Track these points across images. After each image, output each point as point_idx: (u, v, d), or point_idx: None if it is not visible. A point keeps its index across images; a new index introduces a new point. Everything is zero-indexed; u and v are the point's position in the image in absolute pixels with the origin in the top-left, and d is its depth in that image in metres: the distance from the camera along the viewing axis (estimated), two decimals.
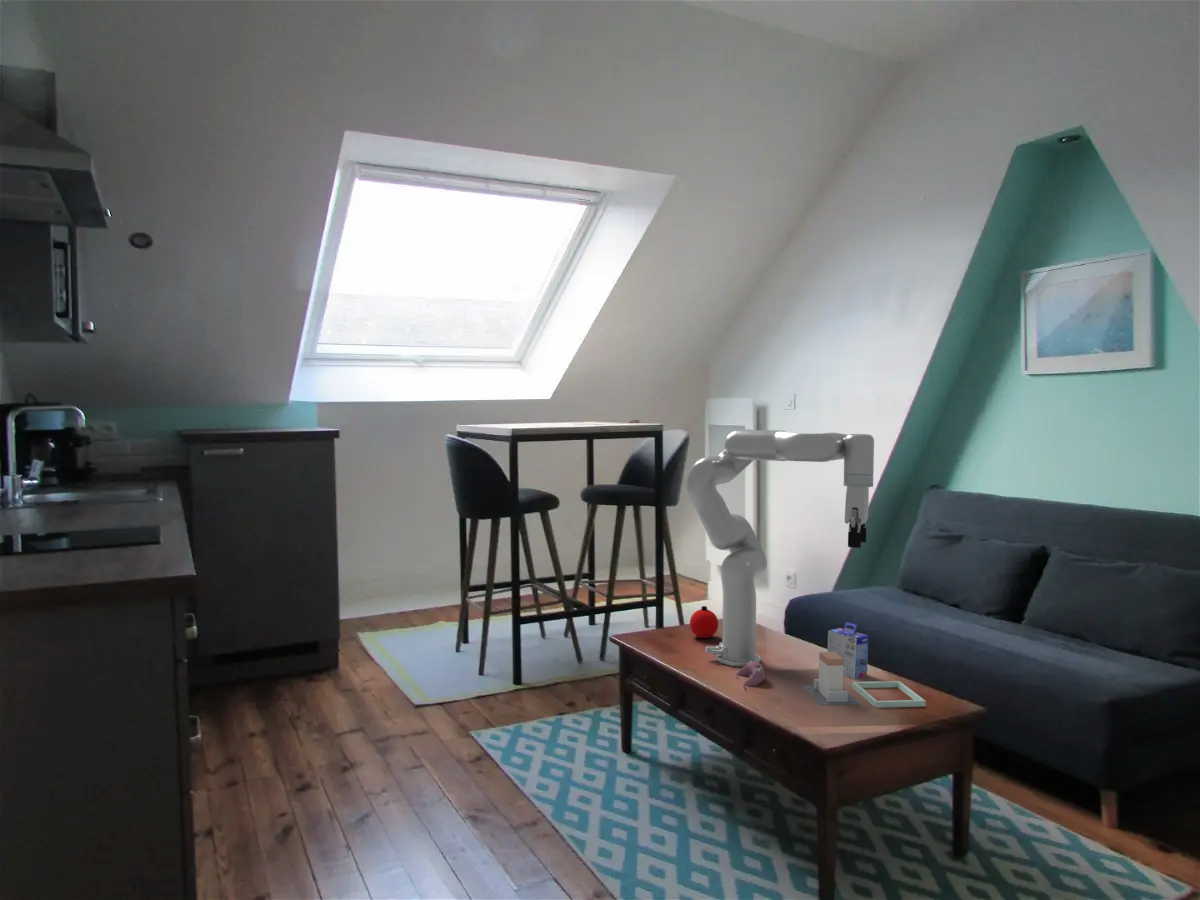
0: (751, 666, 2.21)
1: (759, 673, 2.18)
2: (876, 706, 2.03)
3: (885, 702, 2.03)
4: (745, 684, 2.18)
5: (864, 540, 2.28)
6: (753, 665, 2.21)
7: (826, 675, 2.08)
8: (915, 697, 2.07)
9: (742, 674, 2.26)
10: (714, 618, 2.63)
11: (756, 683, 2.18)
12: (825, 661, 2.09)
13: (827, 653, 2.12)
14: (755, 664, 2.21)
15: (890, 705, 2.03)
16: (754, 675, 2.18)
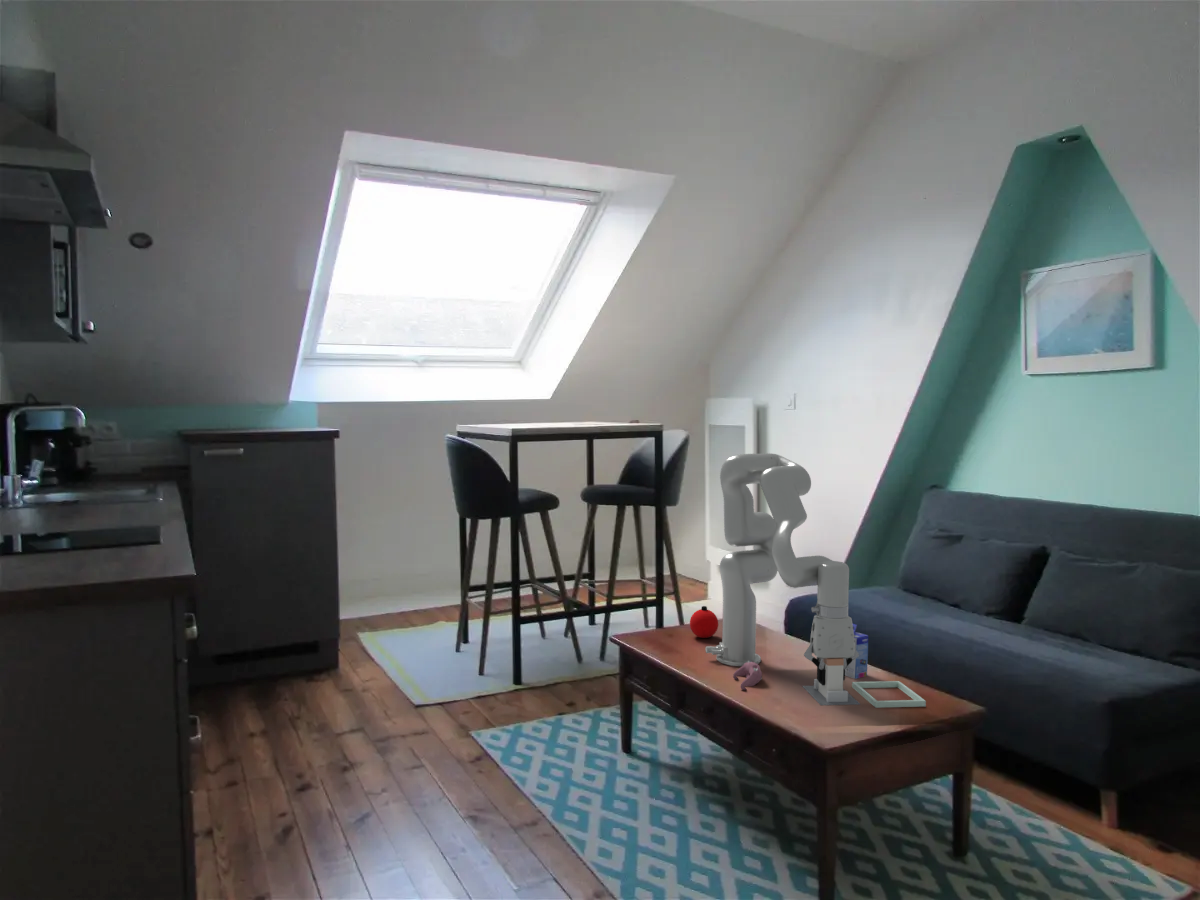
0: (748, 666, 2.21)
1: (756, 673, 2.18)
2: (876, 706, 2.03)
3: (885, 702, 2.03)
4: (742, 684, 2.18)
5: None
6: (750, 665, 2.21)
7: (826, 675, 2.08)
8: (915, 697, 2.07)
9: (739, 674, 2.26)
10: (714, 618, 2.63)
11: (753, 683, 2.17)
12: (825, 661, 2.09)
13: None
14: (752, 664, 2.21)
15: (890, 705, 2.03)
16: (751, 675, 2.18)
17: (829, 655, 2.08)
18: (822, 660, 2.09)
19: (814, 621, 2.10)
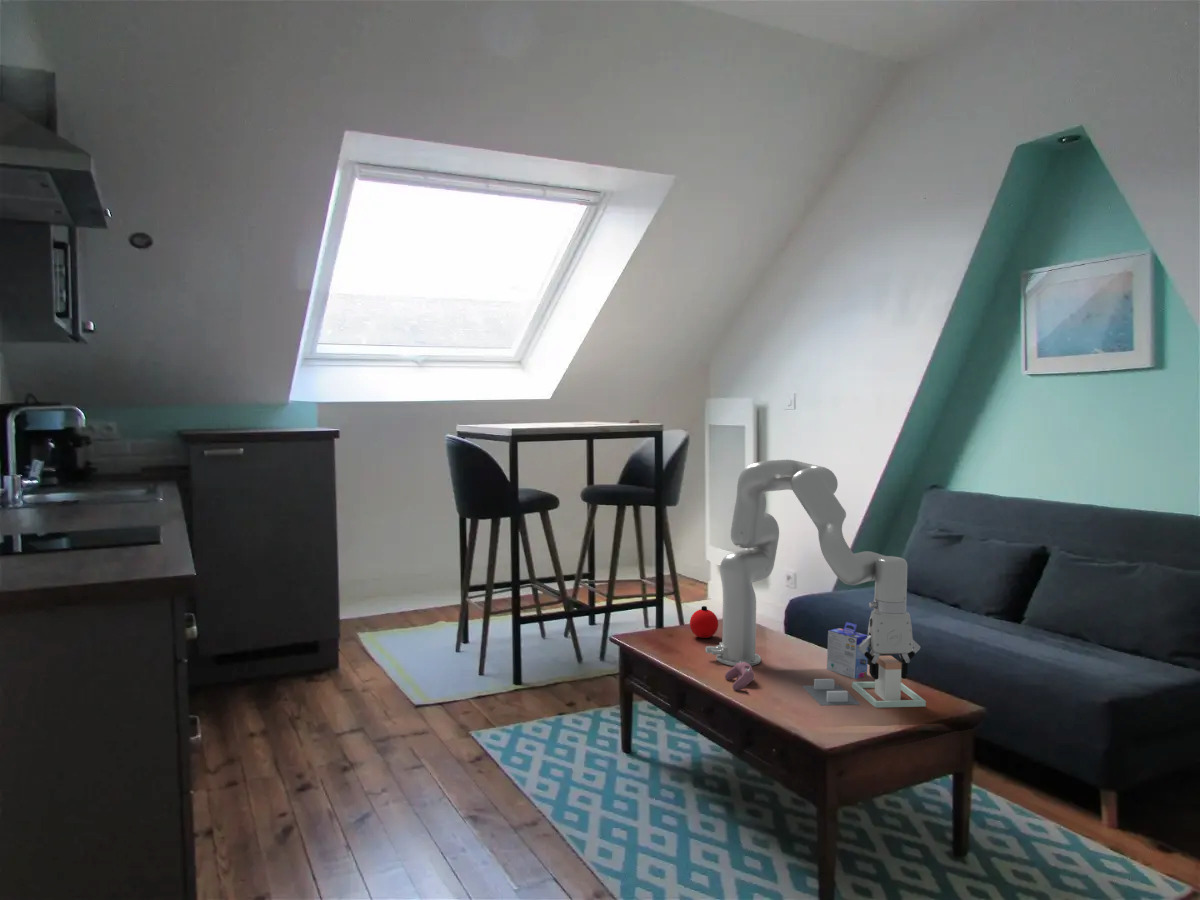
0: (740, 667, 2.21)
1: (748, 674, 2.17)
2: (876, 706, 2.03)
3: (885, 702, 2.03)
4: (734, 685, 2.17)
5: None
6: (742, 666, 2.21)
7: (884, 679, 2.08)
8: (915, 697, 2.07)
9: (731, 675, 2.25)
10: (714, 618, 2.63)
11: (745, 684, 2.17)
12: (883, 665, 2.08)
13: (884, 657, 2.12)
14: (744, 665, 2.21)
15: (890, 705, 2.03)
16: (743, 676, 2.17)
17: (887, 651, 2.07)
18: (877, 654, 2.08)
19: (872, 616, 2.09)
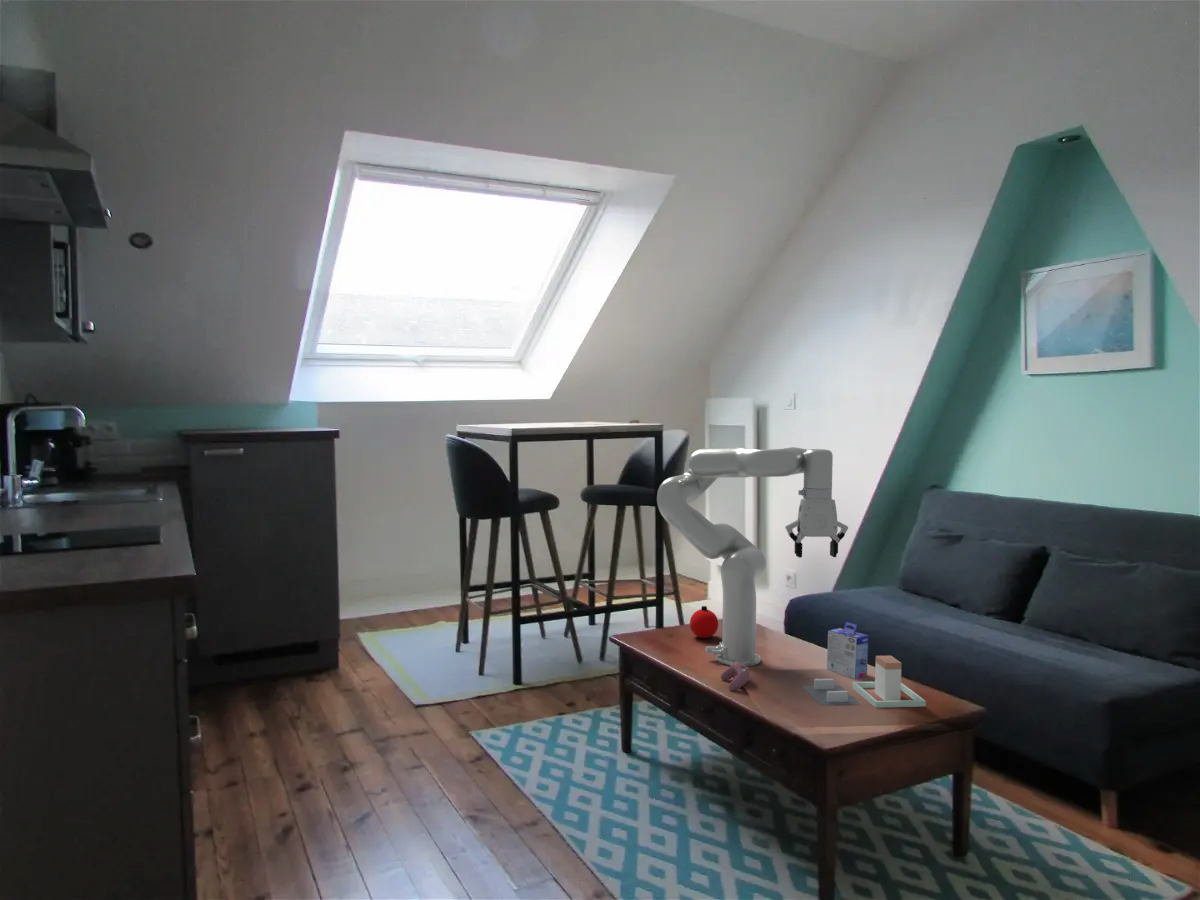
0: (736, 667, 2.21)
1: (744, 674, 2.17)
2: (876, 706, 2.03)
3: (885, 702, 2.03)
4: (730, 685, 2.17)
5: None
6: (738, 666, 2.20)
7: (884, 679, 2.08)
8: (915, 697, 2.07)
9: (727, 675, 2.25)
10: (714, 618, 2.63)
11: (741, 684, 2.17)
12: (883, 665, 2.08)
13: (884, 657, 2.12)
14: (740, 665, 2.21)
15: (890, 705, 2.03)
16: (739, 676, 2.17)
17: (814, 533, 2.27)
18: (802, 535, 2.29)
19: (801, 503, 2.29)
